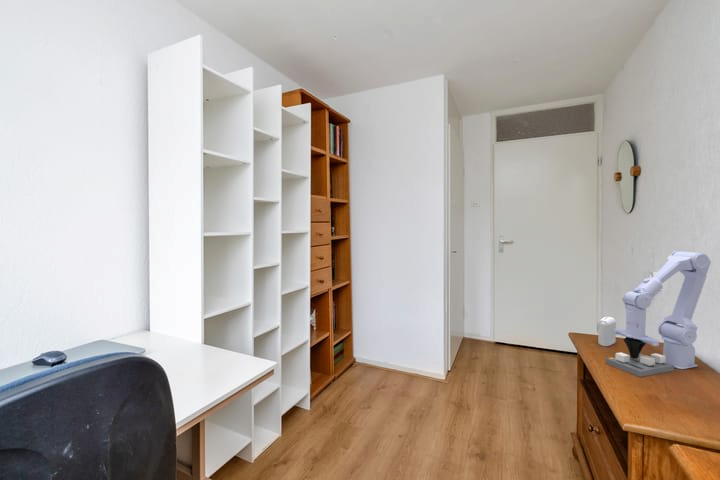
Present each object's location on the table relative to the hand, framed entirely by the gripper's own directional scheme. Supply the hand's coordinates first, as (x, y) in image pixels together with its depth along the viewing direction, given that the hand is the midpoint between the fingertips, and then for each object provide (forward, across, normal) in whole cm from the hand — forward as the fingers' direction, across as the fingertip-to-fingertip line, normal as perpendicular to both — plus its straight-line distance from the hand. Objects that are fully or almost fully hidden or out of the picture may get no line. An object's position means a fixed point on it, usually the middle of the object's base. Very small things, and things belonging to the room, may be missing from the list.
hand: (634, 357), depth 124 cm
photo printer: (+3, -20, +13) cm, 24 cm away
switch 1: (0, 0, -6) cm, 6 cm away
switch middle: (0, +4, 0) cm, 4 cm away
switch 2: (0, +4, +6) cm, 7 cm away
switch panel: (+3, +2, 0) cm, 3 cm away
